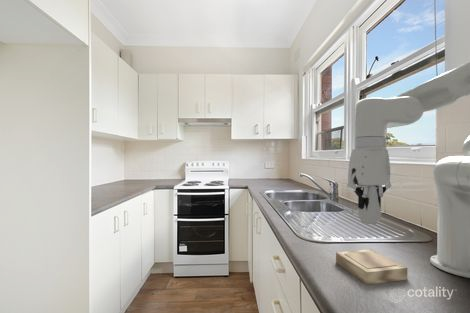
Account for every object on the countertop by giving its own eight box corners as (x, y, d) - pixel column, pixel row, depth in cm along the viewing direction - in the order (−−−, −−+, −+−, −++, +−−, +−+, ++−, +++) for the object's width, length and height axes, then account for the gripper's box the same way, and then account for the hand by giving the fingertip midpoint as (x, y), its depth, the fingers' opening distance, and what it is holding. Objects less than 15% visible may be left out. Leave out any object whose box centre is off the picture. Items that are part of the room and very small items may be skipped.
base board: (370, 259, 71) (371, 248, 71) (407, 279, 60) (407, 267, 60) (336, 262, 69) (336, 251, 69) (366, 284, 57) (367, 271, 57)
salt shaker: (384, 226, 61) (385, 176, 61) (361, 224, 62) (361, 175, 62) (376, 220, 67) (376, 174, 67) (354, 218, 68) (355, 173, 68)
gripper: (384, 145, 70) (383, 207, 70) (335, 144, 66) (334, 209, 66) (407, 144, 62) (406, 213, 62) (353, 143, 59) (352, 216, 59)
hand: (369, 210), depth 64 cm, fingers closed on salt shaker, 3 cm apart
